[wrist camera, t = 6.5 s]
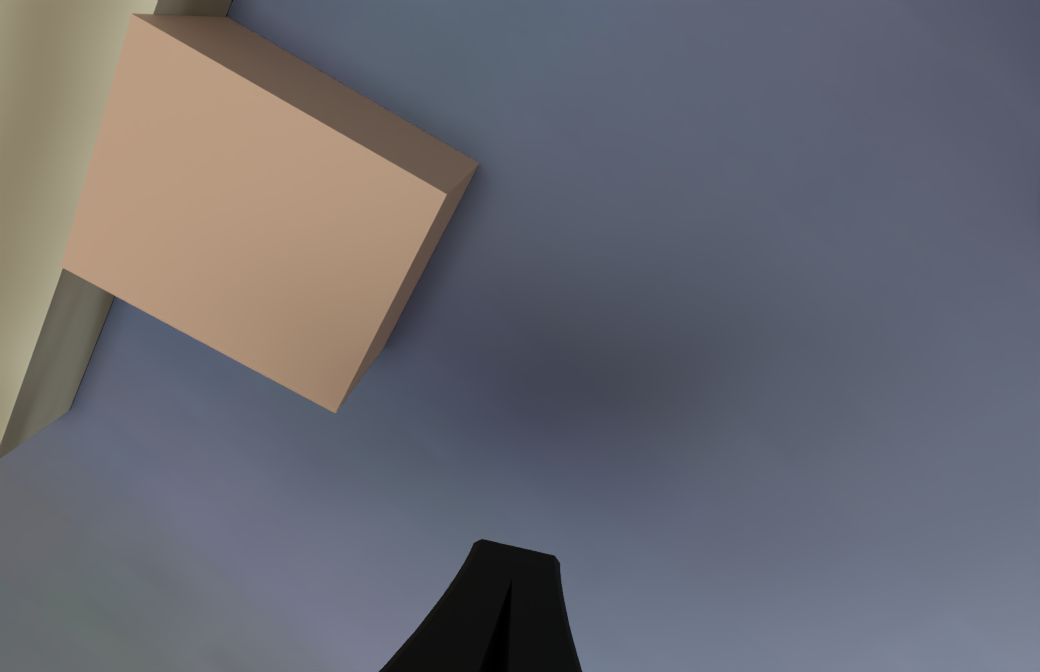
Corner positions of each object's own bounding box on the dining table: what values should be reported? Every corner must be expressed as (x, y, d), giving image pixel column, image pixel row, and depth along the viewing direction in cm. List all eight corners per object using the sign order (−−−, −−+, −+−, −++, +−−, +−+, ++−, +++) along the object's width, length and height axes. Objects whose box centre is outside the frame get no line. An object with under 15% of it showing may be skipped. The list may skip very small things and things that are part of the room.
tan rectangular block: (480, 162, 18) (447, 194, 15) (385, 346, 21) (335, 413, 17) (231, 17, 18) (131, 13, 14) (161, 224, 20) (60, 266, 17)
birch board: (345, -286, 15) (284, -358, 12) (69, 410, 23) (-6, 462, 20) (217, -379, 15) (124, -473, 12) (-20, 360, 22) (-108, 405, 20)
